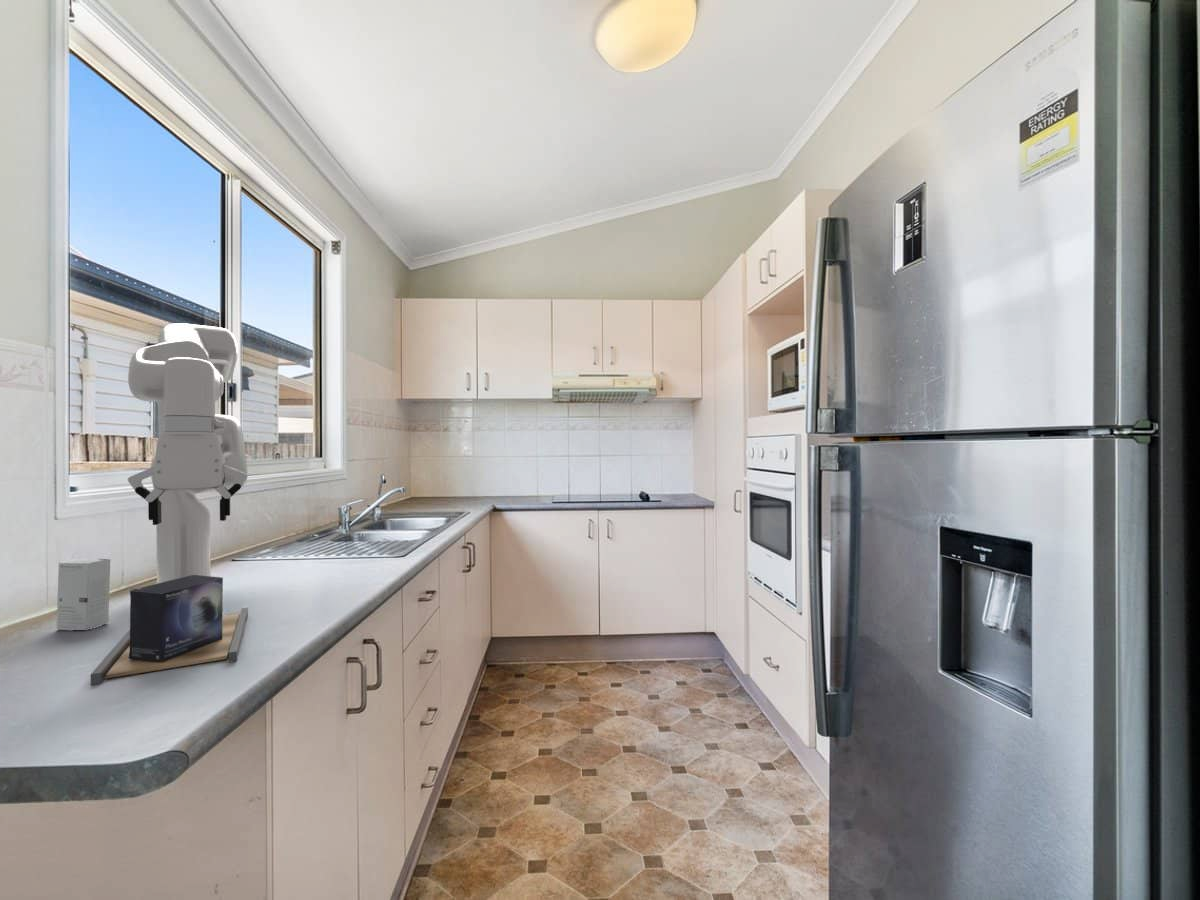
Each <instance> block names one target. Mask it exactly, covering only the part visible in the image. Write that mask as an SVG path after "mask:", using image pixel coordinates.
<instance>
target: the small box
mask: <svg viewBox="0 0 1200 900" xmlns="http://www.w3.org/2000/svg"><path fill="white" fill-rule="evenodd" d="M223 583H224V578H223V577H221V576H201V575H190V576H186V577H182V578H178V579H174V580H170V581H166V582H162V583H158V584H157V583H154V584H149V585H146V586H142V587H137V588H133V589H130V590H129V596H130V602H129V603H130V604H129V605H130V608H129V609H130V610H129V613H130V614H129V615H130V616H129V627H130V628H129V630H130V651H129V659H136V660H145V661H154V662H163V661H166V660H168V659H171V658H173V657H176V656H179V655H181V654H184V653H186V652H189V651H192V650H194V649H197V648H200V647H202V646H205V645H207V644H210V643H213V642H215V641H218V640H221V639H222V616H223V601H224V600H223V599H224V598H223V588H224V587H223V586H224V584H223Z"/></svg>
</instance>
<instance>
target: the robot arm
mask: <svg viewBox="0 0 1200 900" xmlns="http://www.w3.org/2000/svg"><path fill="white" fill-rule="evenodd" d="M238 348H239V347H238V342H237V339H236V336H235V335H234V333H233V332H231V331H230V330H228V329H227V328H225V327H224V328H223V327H218V326H210V325H200V324H192V323H171V324H168V325H166V326H164V327H163V328H162V329H161V330H160V331H159V334H158V336H157V344H153V345H149V346H148V345H147V346H146V347H142V348H140V349H138V350H136V351H135V352H134V353H133V354H132V356H131V359H130V362H129V367H128V376H127V377H128V378H127V381H128V387H129V390H130V393H131V394H132V395H133V396H134V397H135V399H138V400H140V401H143V402H156V404H157V414H158V415H157V421H158V422H157V423H158V424H157V425H158V429H157V430H158V438H157V442H156V446H155V452H154V458H153V459H152V461H151V465H150V468H147V469H145V470H143V471H141V472H139V473H136V474H134V475H133V474H132V475H131V476H129V477H128V478H127V482H128V483H129V485H130V486H131V487H132V489H133V490H134V492H135V493H136V494H137V495H139V496H140V497H141V498H142V499H144V500H145V501H146V502H147V503H148V505H147V507H148V510H147V511H148V513H147V514H148V517H147V518H148V521H152V525H153V526H156V584H158V583H162V582H166V581H170V580H174V579H178V578H182V577H186V576H190V575H201V576H211V575H212V573H211V513H210V511H209V508H208V507H207V506H206V505H205V504H204V503H203V502H202V501H200V500H199V498H197V497H196V495H199V494H207V493H208V494H211V493H218V494H219V495H220V496H221V497H220V499H219V521H221V522H225V521H226V520H227V517H229V516H231V497H233V496H234V495H235V494H236V493H238V492H239V491H240V490H242V489H243V488H244V487H245V486H246V484H247V481H248V464H247V456H246V455H247V454H246V447H245V439H244V431H243V427H242V424H241V422H240V421H239V419H238V418H236V417H235V416H232V415H228V414H216V402H217V401H218V400H219V399H220V397H222V396H223V394H224V389H225V387H224V386H225V384H224V383H227V382H229V381H231V380H232V377H233V375H234V372H235V368H236V364H237V363H236V362H237V360H238V353H239V349H238ZM150 477H151V483H152V487H153V490H152V491H150V490H149V489H147V488H146V487H145V486H144V484H143V483H142V481H144V480H145V479H148V478H150ZM211 577H212V576H211Z"/></svg>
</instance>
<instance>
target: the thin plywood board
mask: <svg viewBox="0 0 1200 900" xmlns="http://www.w3.org/2000/svg"><path fill="white" fill-rule="evenodd" d="M239 616H240V613H236V614H235V613H234V614H228V615H227V614H226V615H222V639H221V640H218V641H215V642H213V643H210V644H207V645H205V646H202V647H200V648H197V649H194V650H192V651H189V652H186V653H184V654H181V655H179V656H176V657H173V658H171V659H168V660H166V661H163V662H154V661H145V660H136V659H129V651H130V646H129V647H128V648H127V649H126V651H125V652H124V653H123V654H122V656H121V657H120V658H119V659H118V660H117V662H116V663H115V664H114V665H113V667H112V668H111V669H110V670H109V672H108V673H107V674H106V677H105V679H110V678H117V677H118V678H119V677H123V676H129V675H136V674H141V673H142V674H143V673H148V672H149V673H150V672H153V671H154V672H155V671H160V670H166V669H171V668H172V669H173V668H180V667H185V666H190V665H191V666H192V665H196V664H203V663H210V662H217V661H223V660H227V659H229V650H230V646H231V643H232V640H233V636H234V633H235V629H236V626H237V623H238V619H239Z"/></svg>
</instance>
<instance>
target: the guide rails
mask: <svg viewBox="0 0 1200 900" xmlns="http://www.w3.org/2000/svg"><path fill="white" fill-rule="evenodd" d="M239 614H240V616H239V619H238V623H237V626H236V629H235V633H234V636H233V640H232V643H231V646H230V650H229V654H228V663H231V662H230V661H234V662H237V661H238V657H239V653H240V650H241V646H242V641H243V639H244V638H243V637H244V633H245V629H246V624H247V622H248V618H249V607H241V610H240V612H239ZM129 646H130V629H129V630H128V631H127V632H126V633H125V634H124V635H123V637H121V639H119V641H118V643H117V644H116V645H115V646H114V647H113V648H112V650H110V652H109V653H108V654H107V655H106V656H105V657H104V658H103V660H102V661H101V662H100V663H99V664H98V665H97V666H96V667H95V669H94V670H93V671H92V672H91V673H90V686H95V685H101V684H102V683H103V681H104V680H105V679H106V674H107V673H108V672H109V670H110V669H111V668H112V667H113V665H114V664H115V663H116V662H117V660H118V659H119V658H120V657H121V656H122V654H123V653H124V652H125V651H126V649H127V648H128V647H129Z"/></svg>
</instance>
